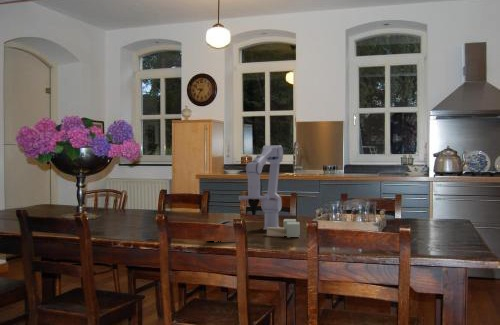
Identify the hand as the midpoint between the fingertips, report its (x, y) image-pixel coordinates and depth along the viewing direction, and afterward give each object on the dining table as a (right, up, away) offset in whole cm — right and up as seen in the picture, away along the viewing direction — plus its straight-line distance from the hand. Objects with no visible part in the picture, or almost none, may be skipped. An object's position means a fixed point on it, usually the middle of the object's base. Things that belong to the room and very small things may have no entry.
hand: (253, 215), depth 235 cm
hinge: (-15, -11, -12) cm, 22 cm away
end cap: (+19, -10, -2) cm, 21 cm away
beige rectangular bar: (+13, -10, -1) cm, 17 cm away
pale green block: (+18, -10, +8) cm, 22 cm away
